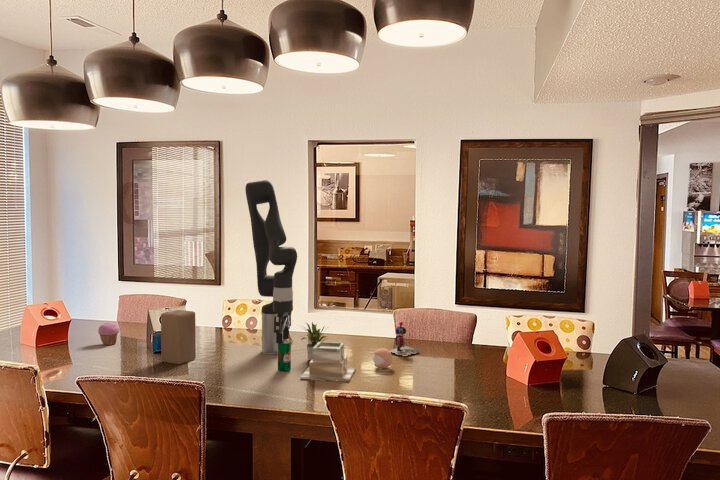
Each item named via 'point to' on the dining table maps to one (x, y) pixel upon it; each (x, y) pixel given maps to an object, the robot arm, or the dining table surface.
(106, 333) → the cupcake
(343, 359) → the tower base
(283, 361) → the soda can
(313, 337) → the house plant
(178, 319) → the block
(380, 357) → the toy ball
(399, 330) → the statue
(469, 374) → the dining table surface
